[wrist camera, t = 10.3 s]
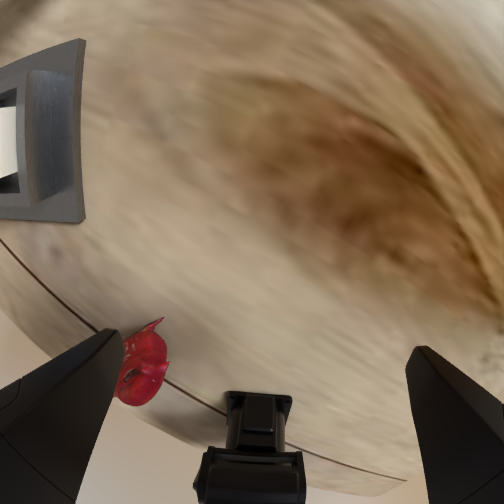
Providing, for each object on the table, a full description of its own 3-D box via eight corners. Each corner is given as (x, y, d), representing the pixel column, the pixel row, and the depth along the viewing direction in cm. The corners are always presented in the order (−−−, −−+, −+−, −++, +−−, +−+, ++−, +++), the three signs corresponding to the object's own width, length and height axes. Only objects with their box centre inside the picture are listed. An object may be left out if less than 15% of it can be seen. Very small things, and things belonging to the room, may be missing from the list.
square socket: (85, 218, 21) (56, 238, 17) (-12, 214, 21) (-38, 228, 17) (86, 40, 15) (53, 31, 11) (-18, 80, 15) (-46, 83, 11)
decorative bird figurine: (211, 302, 23) (179, 406, 14) (104, 376, 29) (69, 444, 19) (184, 276, 22) (136, 374, 13) (85, 359, 28) (45, 426, 19)
